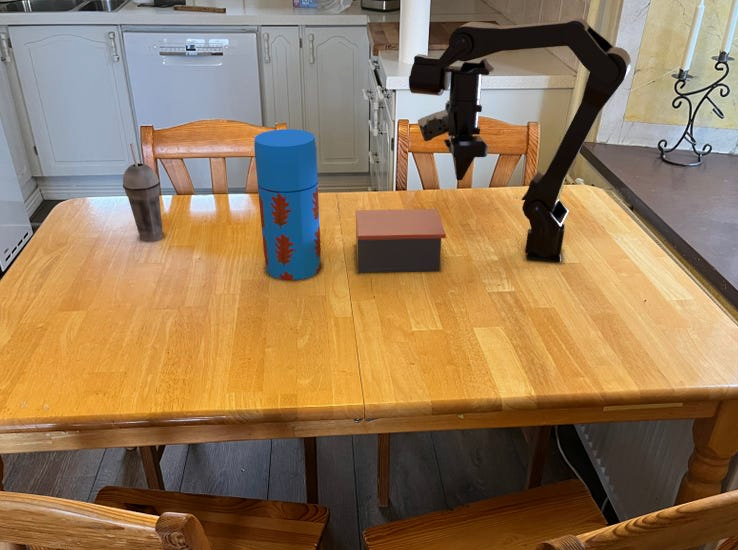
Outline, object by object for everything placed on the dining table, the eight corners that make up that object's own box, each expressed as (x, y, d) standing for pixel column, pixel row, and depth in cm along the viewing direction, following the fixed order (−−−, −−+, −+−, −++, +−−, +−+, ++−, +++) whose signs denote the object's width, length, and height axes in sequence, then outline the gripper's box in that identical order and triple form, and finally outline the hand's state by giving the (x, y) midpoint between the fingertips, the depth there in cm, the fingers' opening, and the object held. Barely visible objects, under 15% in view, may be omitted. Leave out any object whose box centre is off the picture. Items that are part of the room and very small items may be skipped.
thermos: (312, 283, 128) (305, 148, 114) (257, 278, 130) (244, 144, 116) (327, 258, 137) (322, 130, 123) (275, 253, 138) (265, 127, 124)
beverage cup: (173, 230, 148) (158, 137, 137) (162, 244, 142) (144, 148, 131) (141, 229, 149) (122, 136, 138) (128, 243, 143) (107, 147, 132)
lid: (437, 212, 138) (437, 208, 138) (445, 238, 128) (445, 234, 128) (355, 213, 138) (355, 210, 137) (357, 239, 127) (357, 235, 127)
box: (431, 243, 142) (433, 212, 138) (439, 271, 132) (441, 238, 128) (356, 245, 142) (355, 214, 138) (358, 272, 131) (357, 240, 127)
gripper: (415, 87, 135) (413, 165, 144) (428, 111, 120) (424, 197, 129) (471, 86, 136) (466, 164, 145) (491, 110, 120) (483, 196, 129)
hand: (459, 179), depth 137 cm, fingers closed
